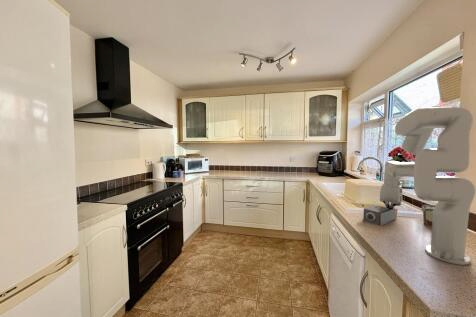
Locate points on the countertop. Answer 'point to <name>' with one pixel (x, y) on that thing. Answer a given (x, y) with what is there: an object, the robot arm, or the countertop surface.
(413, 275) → the countertop surface
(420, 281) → the countertop surface
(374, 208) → the camera housing
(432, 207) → the food container
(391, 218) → the side door
